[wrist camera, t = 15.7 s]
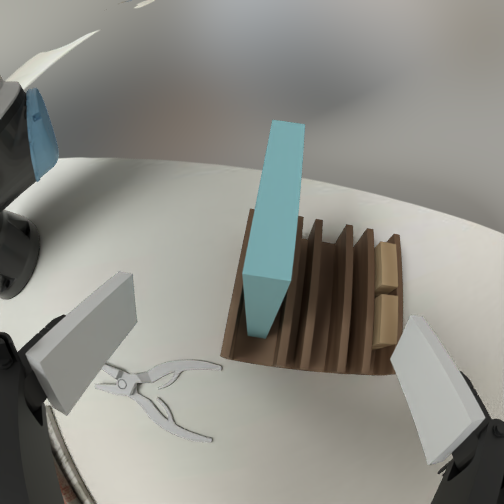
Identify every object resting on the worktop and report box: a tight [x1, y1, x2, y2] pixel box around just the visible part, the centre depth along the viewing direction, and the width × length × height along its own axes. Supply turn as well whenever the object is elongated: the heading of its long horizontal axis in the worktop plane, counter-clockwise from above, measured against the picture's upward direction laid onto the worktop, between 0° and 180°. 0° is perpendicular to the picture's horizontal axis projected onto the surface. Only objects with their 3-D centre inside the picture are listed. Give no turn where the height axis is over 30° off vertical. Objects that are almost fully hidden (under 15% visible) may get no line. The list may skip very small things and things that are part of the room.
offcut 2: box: [371, 294, 398, 350], centre depth 27 cm, size 2×5×6 cm, turn 170°
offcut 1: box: [374, 242, 398, 299], centre depth 29 cm, size 2×5×6 cm, turn 170°
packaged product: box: [45, 406, 95, 504], centre depth 19 cm, size 18×5×10 cm
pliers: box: [95, 360, 222, 442], centre depth 27 cm, size 10×2×15 cm
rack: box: [220, 209, 403, 375], centre depth 29 cm, size 19×16×6 cm
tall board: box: [242, 120, 305, 339], centre depth 22 cm, size 2×10×20 cm, turn 171°
